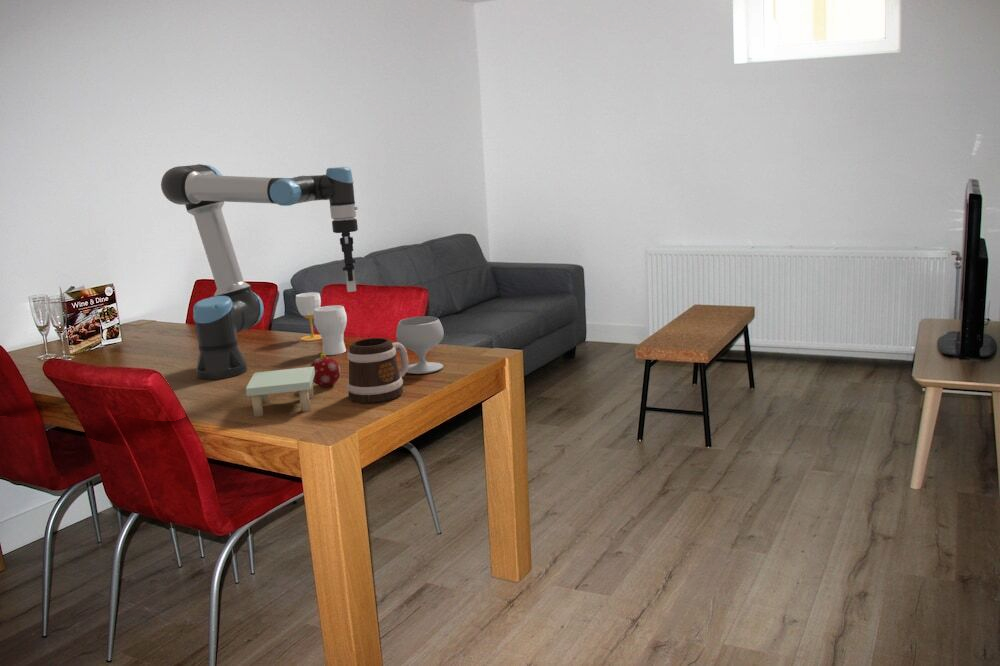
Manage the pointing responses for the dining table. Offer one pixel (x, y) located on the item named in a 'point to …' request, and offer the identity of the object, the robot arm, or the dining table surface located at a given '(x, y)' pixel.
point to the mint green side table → (281, 386)
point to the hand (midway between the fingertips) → (351, 287)
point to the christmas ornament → (325, 370)
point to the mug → (375, 370)
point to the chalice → (420, 340)
